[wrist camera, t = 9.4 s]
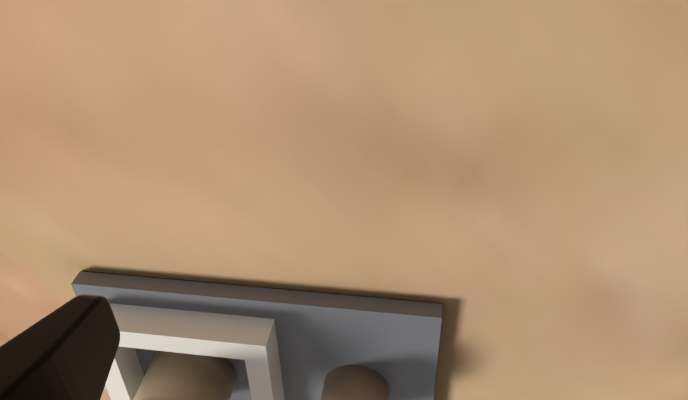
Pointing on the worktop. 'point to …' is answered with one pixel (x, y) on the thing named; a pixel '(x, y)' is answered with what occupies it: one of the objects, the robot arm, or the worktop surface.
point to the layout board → (273, 338)
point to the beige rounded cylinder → (187, 378)
